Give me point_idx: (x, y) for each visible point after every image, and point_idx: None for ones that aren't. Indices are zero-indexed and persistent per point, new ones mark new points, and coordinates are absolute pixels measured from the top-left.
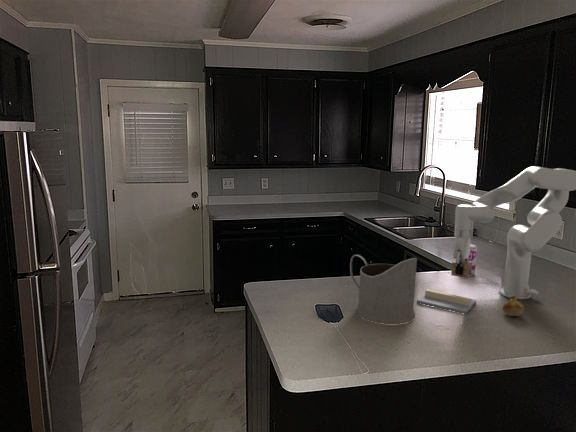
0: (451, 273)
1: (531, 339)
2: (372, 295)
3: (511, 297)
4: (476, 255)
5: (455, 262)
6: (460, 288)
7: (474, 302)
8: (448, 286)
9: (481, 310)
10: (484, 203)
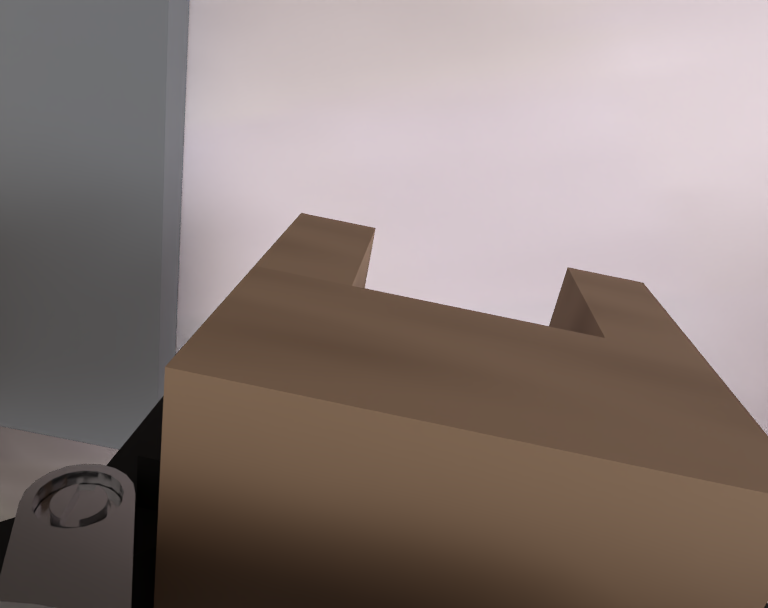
0: (287, 229)
1: None
2: None
3: None
4: None
5: (215, 492)
6: (649, 256)
7: (83, 438)
8: (690, 80)
9: (11, 474)
10: None
